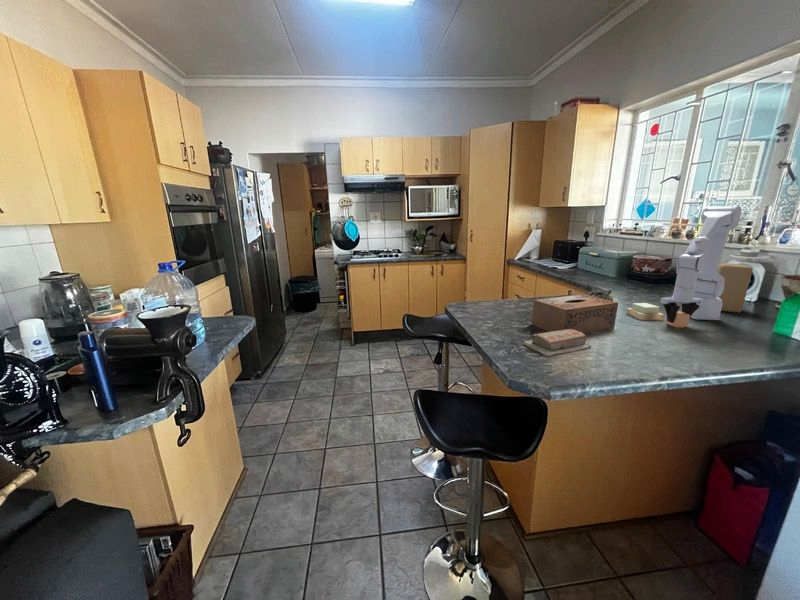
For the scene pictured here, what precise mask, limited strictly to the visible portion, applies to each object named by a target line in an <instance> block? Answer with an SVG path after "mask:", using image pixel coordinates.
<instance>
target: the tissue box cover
mask: <svg viewBox="0 0 800 600" xmlns="http://www.w3.org/2000/svg"><path fill="white" fill-rule="evenodd" d="M532 305H533V306H532V315H531V323H530V324H531V325H532V326H534V327H537V328H539V329H542V330H544V331H546V332H552V331H558V330H565V329H573V330H576V331H579V332H582V333H583V334H587V332H588V333H592V332H593V331H594V332H599V331H605V330H609V329H610V328H611V329H615V325H616V318H617V315H618V314H617V312H618V307H619V302H618V301H614V300H613V301H610V300H606V299H601V298H597V297H593V296H589V295H587V294H584V293H583V294H575V295H565V296H556V297H548V298H537V299H533V304H532ZM604 329H605V330H604Z"/></svg>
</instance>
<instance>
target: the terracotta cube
mask: <svg viewBox="0 0 800 600" xmlns="http://www.w3.org/2000/svg"><path fill="white" fill-rule="evenodd" d="M689 318H690V319H691V317H690V314H687V313H684V312H682V310H681V311H680V310H678V311H677V314H676V316H675V320H674V322H673V323H671V322H668V321H667V319H666V321H665V324H666V325H668V324H669V325H668V326H670V325H671V326H670V327H673V326H674V327H673V328H684V327H687V328H688V326H689V325H688V324H689V321H690V319H689Z"/></svg>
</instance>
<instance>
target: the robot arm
mask: <svg viewBox="0 0 800 600" xmlns="http://www.w3.org/2000/svg"><path fill="white" fill-rule="evenodd" d="M701 211H702V212H701V214H700V215H701V216H700V220H701V224H702V227H701V229H700V232H699V234H698V235H697V237H695V238H693V239H692V240H691V241H690V244H689V245H688V247H687V248H686V250H685V252H684V253H683V254H680V255H679V256H678V258H677V259H676V265H675V266H676V271H675V273H676V274H677V275H676V279H675V284H674V289H673V293H672V295H671V296H666V297H661V298H660V301H659V302H660V304H662V305H663V307H664V310H665V313H666V320H667V321H668V322H671V323H673V322H674V320H675V316H676V314H677V311H680V308H681V312H684V313H687V314H690V318H689V320H690V319H694V320H703V321H706V320H708V321H710V320H711V321H721V320H722V318H720V316H721V312H722V311H721V308H722V300H721V299H720V298H719V296H721V294H722V293H723V290H724V282H725V279H724V278H723V277H722V276H721V275H720V274H718V273H717V272H718V268H719V265H720V263H721V261H722V257H723V254H724V250H725V246H726V243H727V239H728V235H729V234H730V232H731V231H732V230H735V229H737V226H739V222H740V220H741V215H742V207H741V206H740V205H734V206H733V205H731V206H730V205H728V206H727V205H726V206H722V205H721V206H719V205H718V206H709V205H708V206H705V207H704V208H703V209H702V210H701ZM712 280H716V281H712ZM678 304H679V305H681V306H679V305H678Z"/></svg>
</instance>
